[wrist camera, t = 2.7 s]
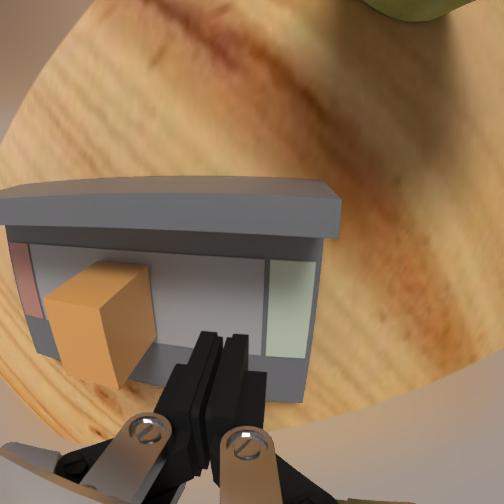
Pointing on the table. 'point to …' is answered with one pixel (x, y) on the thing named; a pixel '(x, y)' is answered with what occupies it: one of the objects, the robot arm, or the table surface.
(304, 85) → the table surface
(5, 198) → the switch panel
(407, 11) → the plant pot
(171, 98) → the table surface
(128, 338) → the handle
